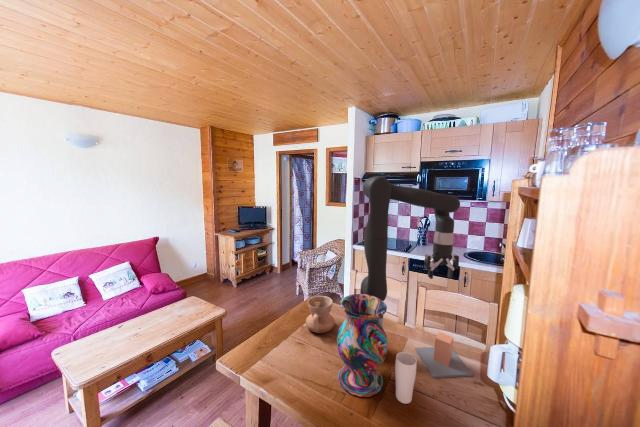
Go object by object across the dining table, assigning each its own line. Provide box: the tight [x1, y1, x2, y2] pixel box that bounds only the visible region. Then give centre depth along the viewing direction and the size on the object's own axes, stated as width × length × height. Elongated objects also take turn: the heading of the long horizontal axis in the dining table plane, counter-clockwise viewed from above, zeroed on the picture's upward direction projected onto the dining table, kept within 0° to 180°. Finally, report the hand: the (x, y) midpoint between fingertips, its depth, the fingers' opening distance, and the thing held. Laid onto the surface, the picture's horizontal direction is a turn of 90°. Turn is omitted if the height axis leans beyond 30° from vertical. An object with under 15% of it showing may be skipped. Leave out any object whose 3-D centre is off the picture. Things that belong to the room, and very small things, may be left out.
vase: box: [336, 293, 389, 398], centre depth 93 cm, size 18×18×30 cm
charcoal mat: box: [414, 346, 475, 379], centre depth 104 cm, size 16×16×1 cm
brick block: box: [434, 331, 454, 367], centre depth 104 cm, size 6×6×10 cm
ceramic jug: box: [305, 295, 335, 334], centre depth 126 cm, size 18×14×14 cm
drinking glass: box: [394, 351, 418, 405], centre depth 86 cm, size 7×7×15 cm
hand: (440, 278), depth 110 cm, fingers open, 8 cm apart
